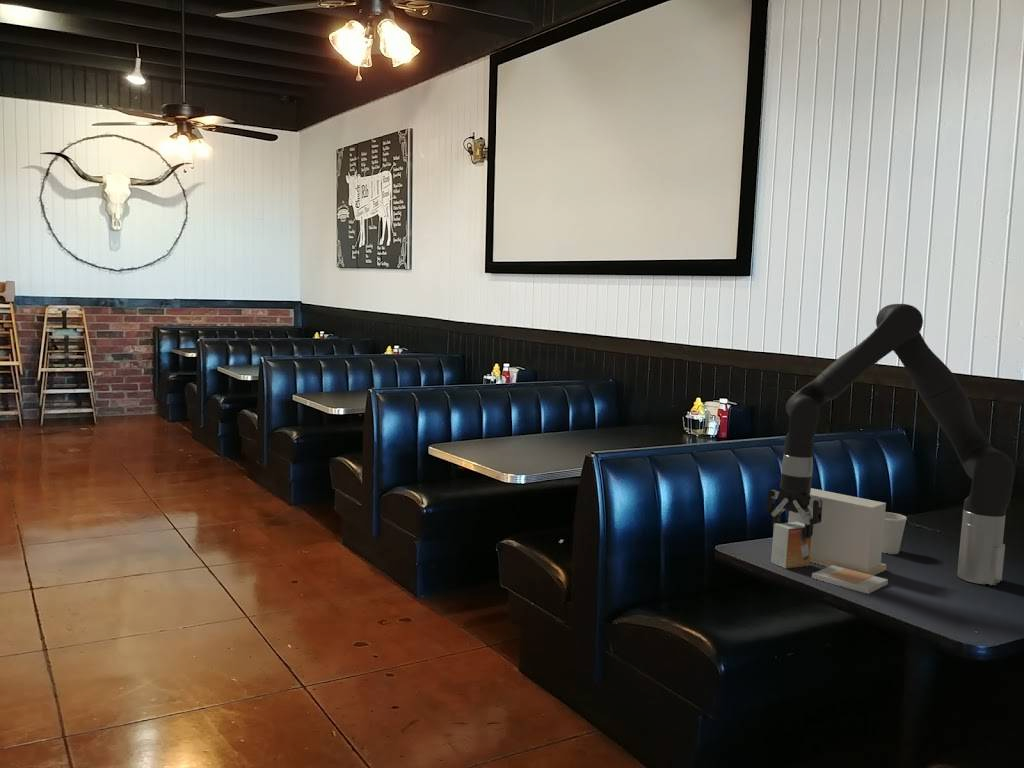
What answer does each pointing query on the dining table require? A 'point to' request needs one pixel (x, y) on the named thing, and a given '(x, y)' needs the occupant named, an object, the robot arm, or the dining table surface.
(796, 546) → the small box
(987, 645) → the dining table surface
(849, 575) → the pad
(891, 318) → the robot arm
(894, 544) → the dixie cup
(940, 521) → the dining table surface
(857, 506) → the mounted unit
